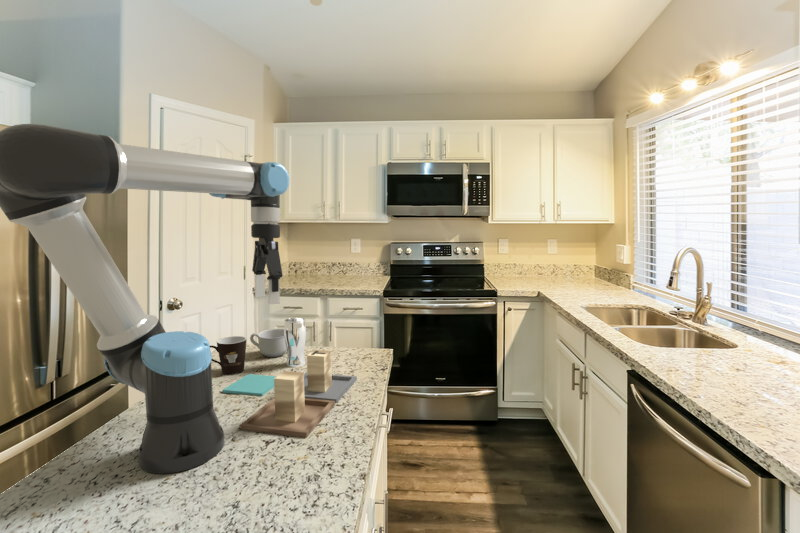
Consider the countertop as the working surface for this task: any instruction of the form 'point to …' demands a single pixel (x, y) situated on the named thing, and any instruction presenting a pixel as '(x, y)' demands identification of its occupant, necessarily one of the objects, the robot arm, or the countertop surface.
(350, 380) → the grey tray
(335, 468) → the countertop surface
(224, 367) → the coffee mug
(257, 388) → the teal mat
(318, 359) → the letter block
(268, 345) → the teacup
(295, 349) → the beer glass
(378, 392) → the countertop surface
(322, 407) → the walnut tray
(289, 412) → the plain block
